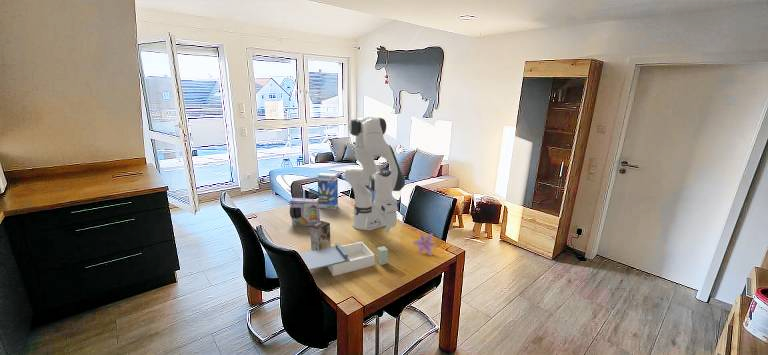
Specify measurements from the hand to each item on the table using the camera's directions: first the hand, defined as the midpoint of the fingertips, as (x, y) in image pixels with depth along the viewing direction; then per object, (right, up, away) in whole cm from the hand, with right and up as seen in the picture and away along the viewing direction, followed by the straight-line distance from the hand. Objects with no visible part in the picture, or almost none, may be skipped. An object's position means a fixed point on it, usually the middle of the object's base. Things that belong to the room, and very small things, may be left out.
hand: (382, 228), depth 158 cm
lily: (+23, -16, +17) cm, 33 cm away
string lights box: (-41, +3, +79) cm, 90 cm away
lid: (-29, -14, -4) cm, 33 cm away
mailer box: (-18, -18, +4) cm, 26 cm away
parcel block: (0, -18, +5) cm, 19 cm away
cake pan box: (-51, -5, +48) cm, 70 cm away
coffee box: (-34, -15, +15) cm, 40 cm away
